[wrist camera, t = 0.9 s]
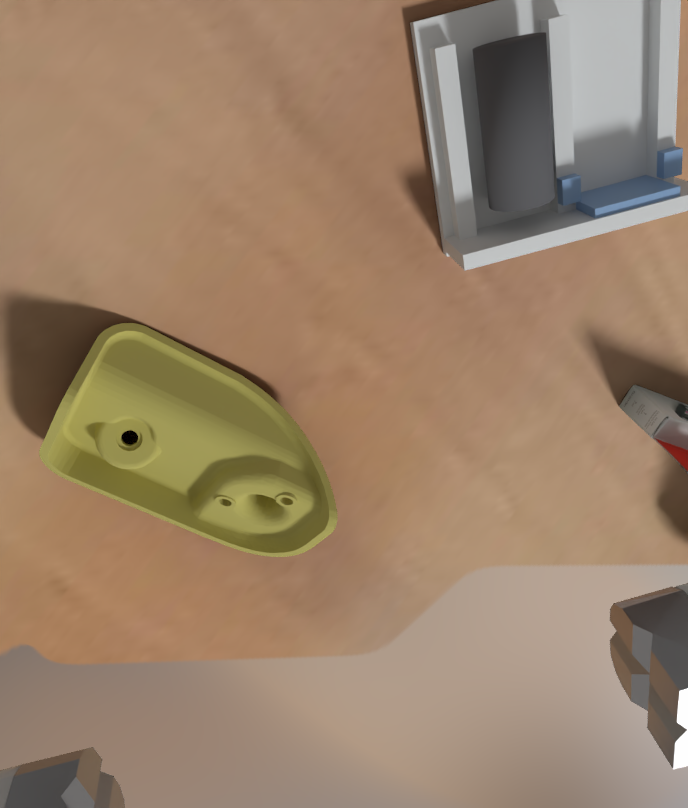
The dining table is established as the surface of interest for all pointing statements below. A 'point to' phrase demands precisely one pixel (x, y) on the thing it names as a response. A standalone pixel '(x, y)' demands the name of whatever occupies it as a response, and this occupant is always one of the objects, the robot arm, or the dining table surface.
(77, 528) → the dining table surface
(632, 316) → the dining table surface
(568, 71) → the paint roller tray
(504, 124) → the gray roller in tray
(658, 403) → the ink box
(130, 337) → the plastic component
